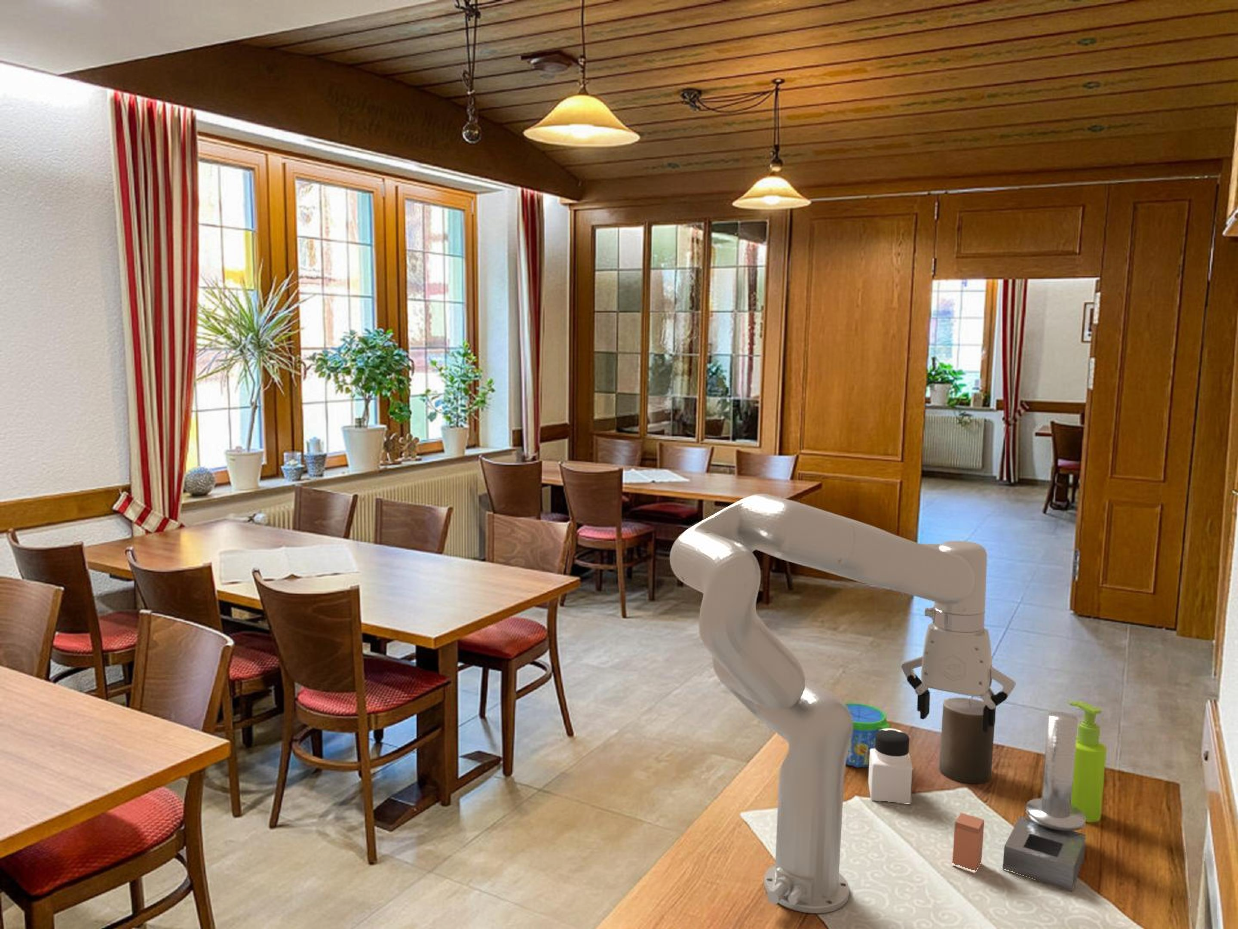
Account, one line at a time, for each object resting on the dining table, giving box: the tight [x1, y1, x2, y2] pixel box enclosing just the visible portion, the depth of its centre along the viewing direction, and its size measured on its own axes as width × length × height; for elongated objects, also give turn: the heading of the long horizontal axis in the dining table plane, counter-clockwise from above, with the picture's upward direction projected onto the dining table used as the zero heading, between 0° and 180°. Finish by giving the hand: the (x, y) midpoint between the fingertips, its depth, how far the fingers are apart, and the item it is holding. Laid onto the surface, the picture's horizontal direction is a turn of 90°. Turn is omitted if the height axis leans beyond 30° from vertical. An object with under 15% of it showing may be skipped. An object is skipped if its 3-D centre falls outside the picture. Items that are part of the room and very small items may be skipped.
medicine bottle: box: [867, 727, 914, 804], centre depth 167 cm, size 7×7×12 cm
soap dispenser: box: [1068, 700, 1107, 823], centre depth 161 cm, size 6×7×20 cm
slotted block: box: [1002, 711, 1087, 892], centre depth 147 cm, size 18×10×22 cm, turn 145°
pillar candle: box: [938, 697, 996, 784], centre depth 177 cm, size 10×10×15 cm
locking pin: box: [951, 812, 985, 871], centre depth 144 cm, size 4×4×8 cm
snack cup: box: [843, 702, 893, 769], centre depth 181 cm, size 16×10×10 cm
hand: (955, 722), depth 145 cm, fingers open, 9 cm apart
